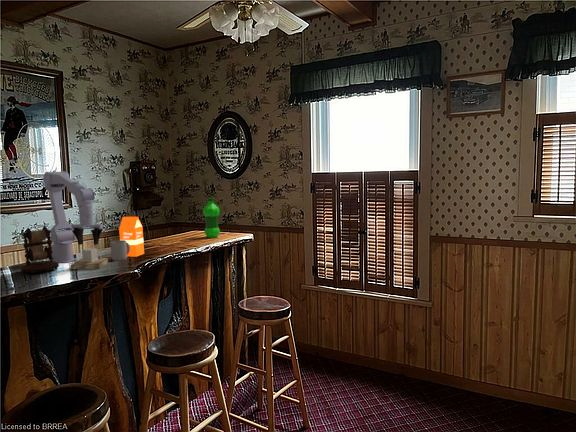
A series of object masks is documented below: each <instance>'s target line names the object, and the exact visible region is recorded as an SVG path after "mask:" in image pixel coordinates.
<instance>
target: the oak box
mask: <svg viewBox="0 0 576 432" xmlns="http://www.w3.org/2000/svg"><path fill="white" fill-rule="evenodd" d="M108 261H109V260H108V257H98V260H97V261H94V262H83V258H81V259H79V260H77V261H76V262H74V263H72V264H71V265H70V266H71V270H72V269H88V270H100V269H101V267H102V268H103V267H104V266H106V265H107V264H108V263H109V262H108Z"/></svg>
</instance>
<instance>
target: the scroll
mask: <svg viewBox="0 0 576 432" xmlns="http://www.w3.org/2000/svg"><path fill="white" fill-rule="evenodd" d="M50 230H51V229H48V228H47V226H45V225H44V226H42V229H40V230H31V228H30V227H27V228H26V230H25V232H23V233H22V237H23V239H24V240H23V244H22V245H23V249H25V250H24V257H25V264H24V265H23V266H21V267H20V271H21V272H24V273H31V274H32V273H34V274H36V273H37V272H44V271H50V270H53V269H54V270H55V271H58V268H59V266H60V263H57V262H55V261H52V260H53V257H52V253H53V251H52V250H51V249H52V247H51V246H52V245H53V242H52V240H51V231H50ZM44 245H47V246H44Z"/></svg>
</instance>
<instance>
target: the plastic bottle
mask: <svg viewBox="0 0 576 432" xmlns="http://www.w3.org/2000/svg"><path fill="white" fill-rule="evenodd" d="M206 199H207V204H206V205H205V206H204V207H203V209H202V214H203V215H204V218H205V228H204V230H203V231H204V234H205V236H206V237H207V238H208V239H216V238H217V237H218V236H220V234H221V229H220V228H219V215H220V211H221V210H220V207H219V206H217V204H215V203H214V202H215V198H214V197H207V198H206Z"/></svg>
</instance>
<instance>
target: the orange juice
mask: <svg viewBox="0 0 576 432" xmlns="http://www.w3.org/2000/svg"><path fill="white" fill-rule="evenodd" d="M143 230H144V229H143V225H142V223H141V220H140V219H139V216H122V219H121V221H120V225H119V228H118V231H119V240H125V241H126V242H127V243H128V244H129V245H130V252H129V254H128V255H127V257H139V256H141V255H145V247H144V244H145V243H144V242H145V241H144V231H143ZM126 249H127V247H126Z"/></svg>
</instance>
